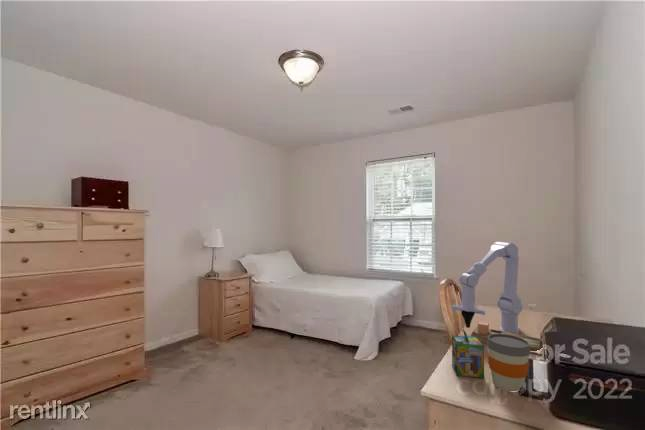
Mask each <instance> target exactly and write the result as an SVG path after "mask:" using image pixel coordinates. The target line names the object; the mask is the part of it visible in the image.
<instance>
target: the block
mask: <svg viewBox="0 0 645 430" xmlns="http://www.w3.org/2000/svg"><path fill="white" fill-rule="evenodd" d="M489 324H490V323H489V322H486V321H485V322H484V321H481V320H480V321H478V322H477V327H478V332H479V333H484V334H488V332H489V329H490V325H489Z"/></svg>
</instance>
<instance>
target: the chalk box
mask: <svg viewBox="0 0 645 430" xmlns="http://www.w3.org/2000/svg"><path fill="white" fill-rule="evenodd" d="M462 332H463V334H462V335H458V334H457V335H455V334H452V335H451V347H452V348H451V355H452V356H451V365H452V368H453V370H454V372H455V375H456V376H457V377H468V378H480V379H485V345H484V344H483V342H480V340H479V339H478V338H477V337H471V335H470V336H469V335H468V334H467V332H466V330H465V329H464V328H462Z"/></svg>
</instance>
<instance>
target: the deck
mask: <svg viewBox="0 0 645 430" xmlns="http://www.w3.org/2000/svg"><path fill="white" fill-rule="evenodd" d="M491 334H507V335H513V336H516V337H519V338H522V339H524V340H526V341H527V342H528V343H529V345H530V351H537V350H540V349H541V348H542V345H544V340H543V339H544V332H542V331H540V337H534V336H528V335H522V334H519V333H518V334H514V333H509V332H504V331H500V330H497V329H493V328H492V329H491V328H489V332H488V334H484V333H479V332H478V325H477V326H476V327H474V329H473V331H472V332H471V334H470V337H477V338H478V339H479V340H480V342H481V343H485V344H487V341H488V336H489V335H491Z"/></svg>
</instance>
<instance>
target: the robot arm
mask: <svg viewBox="0 0 645 430" xmlns="http://www.w3.org/2000/svg"><path fill="white" fill-rule="evenodd" d="M500 257H501V258H502V259H503V260H505V269H504V284H503V285H504V286H503V292H502V293H500V294H499V298H498V300H497V306H498V308H499V309H500V310H499V311H500V315H501V321H500V322H501V323H500V327H499V331H503V332H508V333H513V334H519V333H520V327H519V315H520V313H521V312H522V311H523V304H522V298H521V297H520V296H519V295H518V293H517V292H518V291H517V290H518V277H519V265H520V263H519V259H520V257H519V247H518V246H517V245H516V244H515V243H513V242H505V241H504V242H503V241H495V242H494V243H493V244H492V245H491V246H490V250H489V251H488V252H487V253H486V255H485V256H484V257H483V258H482V259H481V261H477V262H475V263H473V265H472V267H470V268H469V269H468V270H467V271H466V272H463V273H461V275H460V277H459V278H458V281H459V283H460V285H461V286H460V287H461V305H457V304H456V305H455V304H452V305H451V310H452V311H454V310H455V311H461V312H460V313H461V316H462V318H463V320H464V324H465V327H466V328H468V329H469V328H471V324H472V320H473V318H474V316H475V315H476V314H478V315H482V316H485V315H486V310H485V309H481V308H477V307H476V286H477V285H478V284H479V280H480V278H481V277H482V276H483V275H484V274H486V272H487V267H488V266H489V265H491V263H493V262H494V261H495V260H496V259H497V258H500Z"/></svg>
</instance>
